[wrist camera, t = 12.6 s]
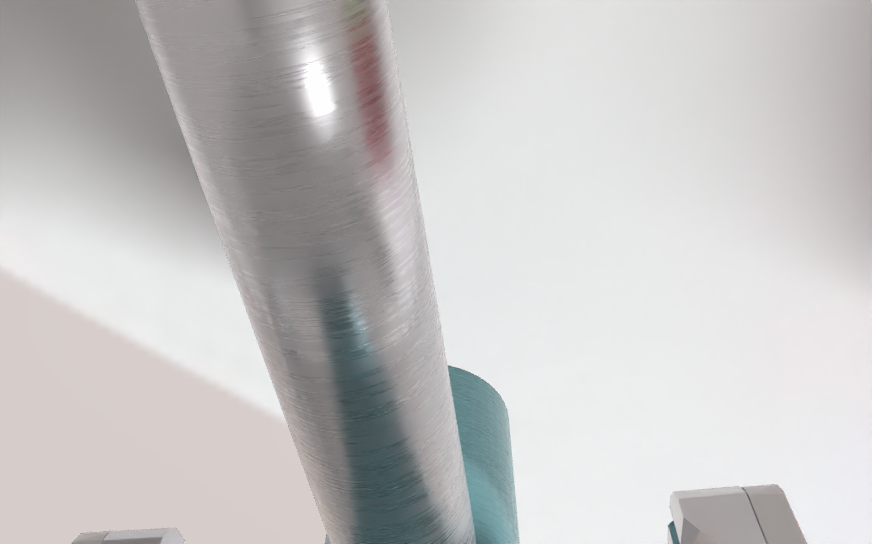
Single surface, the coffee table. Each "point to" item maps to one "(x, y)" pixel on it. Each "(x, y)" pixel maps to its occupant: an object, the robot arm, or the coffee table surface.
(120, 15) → the coffee table surface
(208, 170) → the pin
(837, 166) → the coffee table surface
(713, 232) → the coffee table surface
